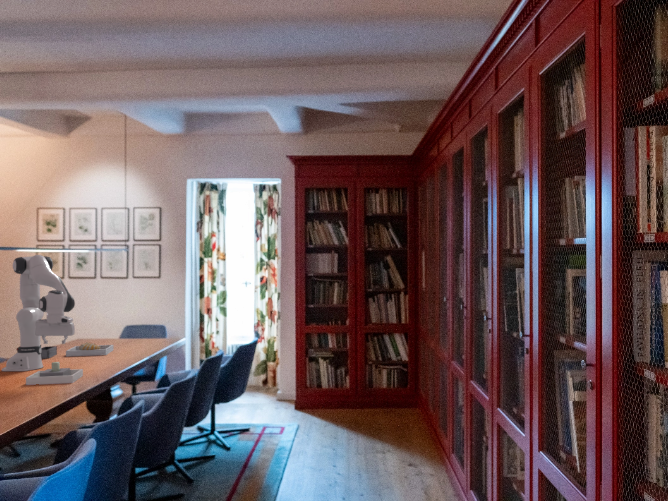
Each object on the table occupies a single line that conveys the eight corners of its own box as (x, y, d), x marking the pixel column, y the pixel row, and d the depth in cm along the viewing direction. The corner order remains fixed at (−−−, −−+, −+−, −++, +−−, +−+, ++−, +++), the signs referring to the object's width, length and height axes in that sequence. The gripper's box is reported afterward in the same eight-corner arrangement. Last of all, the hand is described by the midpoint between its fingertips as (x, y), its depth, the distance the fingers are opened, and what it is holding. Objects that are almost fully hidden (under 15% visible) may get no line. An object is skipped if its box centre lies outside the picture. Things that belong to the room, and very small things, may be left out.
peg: (50, 379, 296) (50, 363, 296) (52, 377, 300) (53, 362, 300) (58, 379, 297) (58, 363, 297) (60, 377, 301) (60, 361, 301)
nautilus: (81, 351, 394) (103, 351, 398) (75, 354, 374) (98, 354, 378) (82, 340, 395) (103, 340, 399) (76, 343, 374) (99, 343, 378)
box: (25, 385, 288) (25, 374, 288) (38, 377, 305) (38, 368, 306) (72, 382, 292) (72, 372, 292) (82, 375, 309) (82, 366, 310)
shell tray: (65, 356, 374) (65, 350, 374) (75, 351, 394) (75, 346, 395) (106, 355, 378) (106, 349, 378) (113, 350, 399) (113, 344, 399)
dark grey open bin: (36, 358, 365) (36, 350, 366) (44, 354, 381) (44, 346, 381) (48, 358, 367) (48, 349, 367) (56, 354, 383) (56, 346, 383)
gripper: (33, 319, 294) (32, 344, 294) (72, 319, 298) (71, 344, 297) (37, 318, 301) (37, 343, 300) (75, 318, 304) (75, 342, 303)
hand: (54, 343), depth 299 cm, fingers open, 8 cm apart
